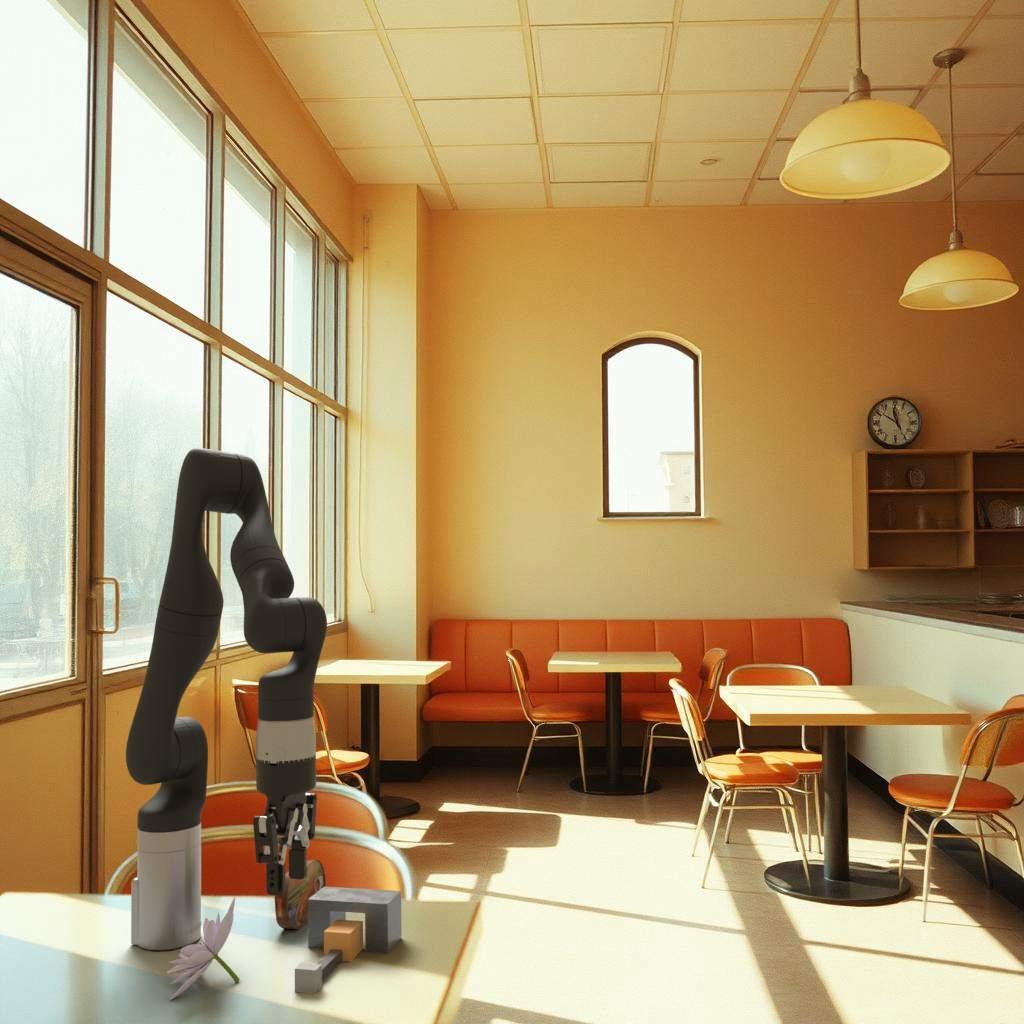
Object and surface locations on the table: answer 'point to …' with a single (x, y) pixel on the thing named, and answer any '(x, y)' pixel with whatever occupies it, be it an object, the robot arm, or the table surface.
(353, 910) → the housing
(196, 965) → the water lily
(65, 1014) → the table surface
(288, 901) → the tin
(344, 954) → the plug
